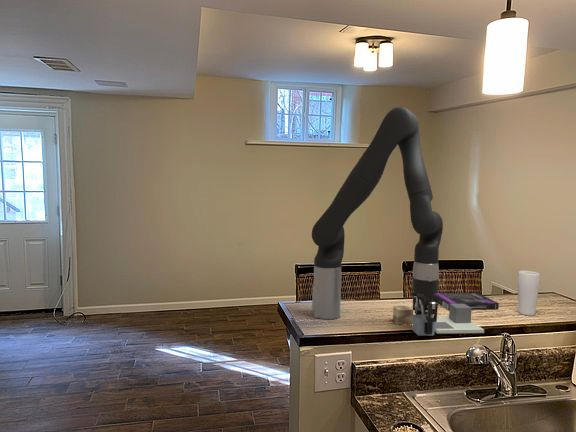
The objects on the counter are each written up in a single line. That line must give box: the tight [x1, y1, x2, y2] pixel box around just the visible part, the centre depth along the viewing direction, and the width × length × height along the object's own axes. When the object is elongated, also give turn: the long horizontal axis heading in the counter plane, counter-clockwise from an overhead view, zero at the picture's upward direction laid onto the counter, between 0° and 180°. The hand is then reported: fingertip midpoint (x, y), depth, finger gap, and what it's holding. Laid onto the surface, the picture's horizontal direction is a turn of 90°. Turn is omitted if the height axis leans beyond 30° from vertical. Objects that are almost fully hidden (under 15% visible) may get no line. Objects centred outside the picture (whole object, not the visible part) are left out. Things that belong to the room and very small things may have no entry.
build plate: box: [434, 304, 485, 334], centre depth 144 cm, size 15×14×6 cm
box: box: [433, 292, 500, 311], centre depth 169 cm, size 14×4×20 cm
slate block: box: [411, 314, 435, 337], centre depth 137 cm, size 5×5×5 cm
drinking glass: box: [517, 270, 541, 317], centre depth 158 cm, size 7×7×15 cm
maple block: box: [392, 305, 414, 326], centre depth 147 cm, size 5×5×5 cm
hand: (423, 329), depth 137 cm, fingers open, 7 cm apart
